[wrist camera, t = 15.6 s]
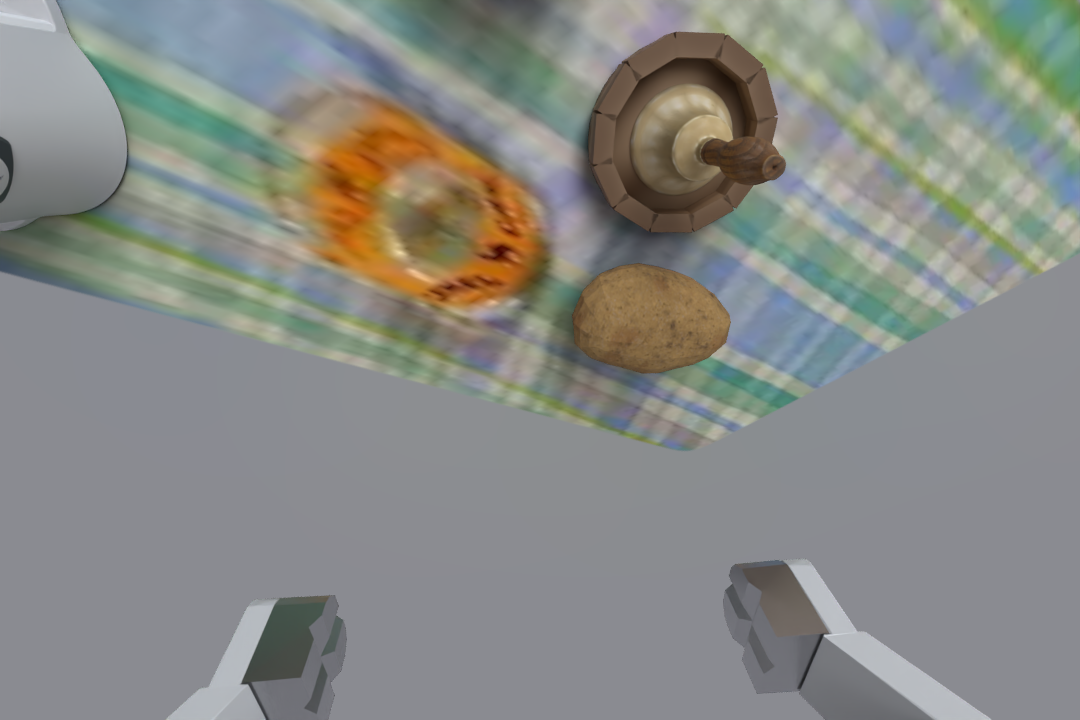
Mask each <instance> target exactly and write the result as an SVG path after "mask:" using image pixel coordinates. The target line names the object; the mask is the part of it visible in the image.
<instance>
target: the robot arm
mask: <svg viewBox="0 0 1080 720" xmlns="http://www.w3.org/2000/svg"><path fill="white" fill-rule="evenodd" d="M126 159H127V142H126V134H125V129H124V125H123V121H122V118H121V115H120V112H119V110H118V107H117V105H116V102H115V100H114V98H113V96H112V94H111V92H110V91H109V89H108V87H107V85H106V84H105V82H104V81H103V79H102V78H101V76H100V75H99V73H98V72H97V70H96V69H95V68H94V66H93V65H92V64H91V63H90V61H89V60H88V59H87V58H86V56H85V55H84V54H83V53H82V51H81V50H80V49H79V47H78V46H77V45H76V43H75V42H74V40H73V38H72V37H71V35H70V33H69V30H68V28H67V25H66V23H65V20H64V18H63V15H62V13H61V11H60V8H59V6H58V4H57V2H56V0H0V231H7V230H13V229H18V228H21V227H24V226H26V225H28V224H29V223H31V222H33V221H34V220H36V219H38V218H39V217H43V216H53V215H68V214H75V213H80V212H84V211H87V210H89V209H92V208H94V207H96V206H98V205H100V204H101V203H103V202H104V201H105V200H106V199H108V198H109V197H110V196H111V195H112V193H113V192H114V191H115V190H116V188H117V187H118V185H119V183H120V181H121V179H122V176H123V174H124V170H125V166H126ZM729 577H730V579H731V582H732V585H731V586H730V587H728V588H727V589H726V590H725V594H724V599H723V605H724V614H725V618H726V622H727V625H728V628H729V630H730V633H731V635H732V637H733V639H735V640H736V641H737V642H738V643H739V644H741V645H742V646H743V647H744V648H745V649H744V653H743V657H742V660H743V663H744V665H745V668H746V670H747V672H748V674H749V677H750V679H751V681H752V683H753V685H754V688H755V690H756V693H757V694H761V693H777V692H792V691H800V692H799V694H800V695H801V696H802V697H803V698H804V699H805V700H806V701H807V702H808V703H809V704H810V705H811V706H812V707H813V708H814V709H815V710H816V711H817V712H818V713H819V714H820V715H821V716H822V717H823V718H824V719H825V720H991V719H990V718H988V717H987V716H986V715H984V714H982V713H981V712H980V711H978V710H977V709H976V708H974V707H973V706H971V705H970V704H968V703H967V702H965V701H964V700H963V699H961V698H960V697H958V696H957V695H955V694H954V693H953V692H951V691H950V690H948V689H947V688H945V687H944V686H942V685H941V684H939V683H938V682H937V681H935V680H934V679H932V678H931V677H930V676H928V675H927V674H925V673H924V672H922V671H921V670H919V669H918V668H917V667H915V666H914V665H912V664H911V663H909V662H908V661H907V660H905V659H904V658H902V657H901V656H899V655H898V654H896V653H895V652H894V651H892V650H891V649H889V648H888V647H886V646H885V645H883V644H882V643H881V642H879V641H878V640H876V639H875V638H873V637H872V636H870V635H869V634H868V633H866V632H857V630H856V629H855V627H854V626H853V624H852V623H851V622H850V620H849V618H848V617H847V616H846V614H845V613H844V611H843V610H842V608H841V607H840V605H839V604H838V602H837V601H836V599H835V598H834V596H833V595H832V593H831V592H830V590H829V589H828V587H827V586H826V584H825V583H824V582H823V580H822V579H821V577H820V576H819V574H818V573H817V571H816V570H815V568H814V567H813V565H812V564H811V563H810V562H809V561H808V560H806V559H795V560H785V561H779V560H775V561H764V562H753V563H743V564H735V565H733V566H732V567H731V570H730V574H729ZM338 607H339V605H338V602H337V600H336V597H335V595H331V596H330V595H329V596H312V597H311V596H310V597H292V598H273V599H259V600H253V601H252V603H251V604H250V605H249V606H248V607H247V608H246V610H245V612H244V614H243V616H242V618H241V620H240V622H239V624H238V626H237V628H236V631H235V633H234V635H233V637H232V639H231V641H230V643H229V645H228V647H227V649H226V651H225V653H224V655H223V658H222V660H221V662H220V664H219V666H218V668H217V670H216V672H215V674H214V676H213V678H212V680H211V682H210V685H209V687H205V688H199V689H198V690H197V691H196V692H195V693H194V694H193V695H192V696H191V697H190V698H189V699H187V700H186V701H185V702H184V703H183V704H182V705H181V706H180V707H179V708H178V709H177V710H176V711H174V712H173V713H172V714H171V715H170V716H169V717H168V718H167V719H166V720H328V718H329V715H330V711H331V707H332V704H333V700H334V696H335V695H334V692H333V689H332V686H331V682H332V681H333V680H334V678H335V677H336V676H337V675H338V674H339V673H340V672H341V670H342V666H343V661H344V657H345V650H346V640H347V639H346V628H345V624H344V621H343V620H342V619H341V618H339V617H338V616H336V613H337V610H338Z"/></svg>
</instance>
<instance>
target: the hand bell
mask: <svg viewBox="0 0 1080 720" xmlns="http://www.w3.org/2000/svg"><path fill="white" fill-rule="evenodd" d="M732 135H733V128H732V121H731V116H730V113H729V111H728V108H727V106H726V104H725V103H724V101H723V100H722V99H721V98H720V96H719V95H718V94H716V93H715V92H714V91H713V90H711V89H709V88H707V87H705V86H703V85H699V84H693V83H685V84H678V85H674V86H671V87H669V88H666V89H664V90H663V91H661V92H659V93H658V94H656V95H655V96H654V97H653V98H652V99H651V100H650V101H649V102H648V103H647V104H646V105H645V106H644V108H643V109H642V111H641V112H640V114H639V115H638V117H637V119H636V122H635V124H634V126H633V129H632V134H631V139H630V155H631V161H632V165H633V167H634V170H635V172H636V174H637V175H638V177H639V178H640V180H641V181H642V182H643V183H644V184H645V185H646V186H647V187H649V188H650V189H652V190H653V191H655V192H658V193H660V194H664V195H669V196H678V195H684V194H688V193H691V192H694V191H696V190H698V189H700V188H701V187H703V186H704V185H706V184H707V183H708V182H710V181H711V180H712V179H713V178H714V177H715V176H716V175H717V174H718V173H719V172H721V171H722V172H723V174H724V175H725V176H726V177H728V178H729V179H730V180H732V181H734V182H736V183H739V184H743V185H757V184H761V183H764V182H767V181H769V180H775V179H777V178H778V177H779V176H781V175H782V174H783V172H784V171H785V166H786V162H785V160H784V158H783V157H782V156H781V155H779V153H778V151H777V150H776V148H775V147H774V146H773V145H772V144H771V143H770V142H768V141H767V140H764V139H762V138H758V137H739V138H736V139H733V136H732Z"/></svg>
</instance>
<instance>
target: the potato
mask: <svg viewBox="0 0 1080 720" xmlns="http://www.w3.org/2000/svg"><path fill="white" fill-rule="evenodd" d="M572 318H573V325H574V338H575V344H576V345H577V346H578V347H579V348H580V349H581V350H582V351H583V352H584V353H586V354H587V355H588V356H589V357H591V358H592V359H595V360H598V361H601V362H604V363H607V364H610V365H614V366H618V367H622V368H626V369H630V370H633V371H636V372H640V373H660V372H664V371H668V370H672V369H676V368H680V367H684V366H689V365H693V364H695V363H697V362H700V361H702V360H705V359H707V358H709V357H710V356H711V355H712V354H713V353H714V352H716V351H717V350H718V349H719V348H720V347H721V346H722V345H724V344H725V343H726V340H727V336H728V332H729V327H730V323H731V321H730V316H729V314H728V312H727V311H726V309H725V308H724V307H723V305H722V304H721V303H720V301H719V300H718V299H717V297H716V296H715V295H714V294H713V293H712V292H710V291H709V290H708V289H706V288H705V287H703V286H702V285H701V284H699V283H698V282H696V281H695V280H694V279H692V278H690V277H688V276H685V275H683V274H680V273H678V272H675V271H671V270H668V269H664V268H660V267H656V266H651V265H645V264H640V263H637V264H630V265H623V266H618V267H616V268H613V269H611V270H608V271H606V272H603V273H601V274H599V275H598V276H597V277H596V278H595V279H594V280H593V281H592V282H591V283H590V284H589V285H588V286H587V287H586V288H585V289H584V290H583V292H582V294H581V296H580V298H579V301H578V303H577V305H576V308H575V310H574V312H573V314H572Z"/></svg>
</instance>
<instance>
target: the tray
mask: <svg viewBox="0 0 1080 720" xmlns="http://www.w3.org/2000/svg"><path fill="white" fill-rule="evenodd" d="M762 66H763V64H762V63H761V62H759V61H758V60H757V59H756V58H755V57H754V56H752V55H751V54H750V53H749V52H748V51H746V50H745V49H744V48H743V47H742V46H741V45H739V44H738V43H737V42H736V41H735V40H734V39H732V38H731V37H730V36H729V35H725V34H722V33H695V32H674V33H671V34H667V35H664V36H663V37H661V38H660V39H658V40H656V41H655V42H653V43H651V44H649V45H647V46H645V47H643V48H642V49H640V50H638V51H637V52H635V53H634V54H633V55H631V56H630V57H628V58H627V59H625V60H624V61H622V64H619V65H618V67H617V69H616V70H615V72H614V73H613V74H612V75H611V76H610V78H609V79H608V81H607V82H606V84H605V85H604V87H603V89H602V91H601V93H600V95H599V97H598V99H597V101H596V104H595V107H594V108H593V113H592V117H591V121H590V126H589V134H588V151H589V161H590V166H591V168H592V172H593V174H594V177H595V179H596V182H597V184H598V185H599V187H600V189H601V191H602V192H603V194H604V196H605V198H606V201H607V203H608V204H609V205H610V206H611V207H612V208H613V209H614V210H615V211H617V212H619V213H620V214H622V215H623V216H625V217H626V218H628V219H629V220H631V221H633V222H634V223H636V224H637V225H639V226H640V227H642V228H643V229H645V230H647V231H650V232H692V230H693V231H694V232H695V231H696V230H698V229H700V228H702V227H704V226H706V225H708V224H710V223H711V222H713V221H715V220H717V219H719V218H721V217H723V216H724V215H726V214H728V213H730V212H732V211H734V210H733V207H734V208H737V207H738V205H739V204H740V203H741V201H742V200H743V199H744V197H745V196H746V195H747V193H748V192H749V191H750V189H751V188H752V187H753V185H743V184H739V183H736V182H734V181H732V180H730V179H729V178H728V177H726V176H725V175H724V174H723V172H722V171H721V172H719V173H718V174H717V175H716V176H715V177H714V178H713V179H712V180H711V181H710V182H708V183H707V184H706V185H704V186H703V187H701V188H700V189H698V190H696V191H694V192H691V193H688V194H684V195H678V196H669V195H664V194H660V193H658V192H655V191H653V190H652V189H650V188H649V187H647V186H646V185H645V184H644V183H643V182H642V181H641V180H640V178H639V177H638V175H637V174H636V172H635V170H634V167H633V165H632V161H631V155H630V139H631V134H632V129H633V126H634V124H635V122H636V119H637V117H638V115H639V114H640V112H641V111H642V109H643V108H644V106H645V105H646V104H647V103H648V102H649V101H650V100H651V99H652V98H653V97H654V96H655V95H656V94H658V93H659V92H661V91H663V90H664V89H666V88H669V87H671V86H674V85H678V84H685V83H693V84H699V85H703V86H705V87H707V88H709V89H711V90H713V91H714V92H715V93H716V94H718V95H719V96H720V98H721V99H722V100H723V101H724V103H725V104H726V106H727V108H728V111H729V113H730V116H731V121H732V128H733V135H732V136H733V139H736V138H739V137H758V138H762V139H764V140H767V141H768V142H770V143H771V144H772V141H773V137H774V132H775V128H776V123H777V119H778V118H775V117H774V116H776V115H778V114H777V110H776V106H775V103H774V99H773V95H772V91H771V88H770V84H769V80H768V77H767V73H766V69H765V68H762Z"/></svg>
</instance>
